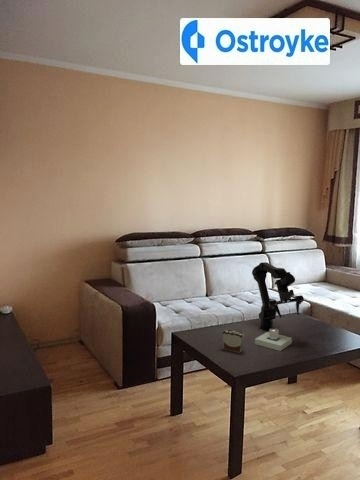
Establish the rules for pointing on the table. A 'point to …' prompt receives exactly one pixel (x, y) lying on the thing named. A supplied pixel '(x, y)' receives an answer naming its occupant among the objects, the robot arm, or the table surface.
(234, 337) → the food container
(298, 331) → the table surface
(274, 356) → the table surface
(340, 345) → the table surface
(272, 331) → the gray cylinder
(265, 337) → the bore block
